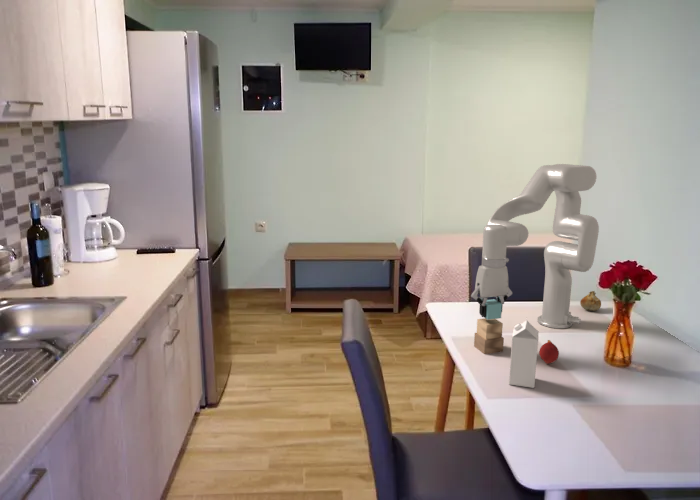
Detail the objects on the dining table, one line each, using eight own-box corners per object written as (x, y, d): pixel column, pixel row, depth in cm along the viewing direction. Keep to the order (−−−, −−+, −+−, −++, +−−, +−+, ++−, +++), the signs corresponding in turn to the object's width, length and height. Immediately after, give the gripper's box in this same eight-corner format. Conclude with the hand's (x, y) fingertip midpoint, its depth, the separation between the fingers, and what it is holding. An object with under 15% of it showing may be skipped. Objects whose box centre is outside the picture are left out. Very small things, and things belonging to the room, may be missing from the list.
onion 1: (558, 362, 180) (560, 338, 178) (556, 369, 175) (558, 345, 173) (539, 358, 182) (541, 335, 180) (537, 365, 177) (539, 342, 175)
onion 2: (575, 307, 232) (577, 289, 230) (594, 307, 232) (596, 288, 231) (585, 313, 224) (587, 294, 222) (604, 313, 225) (606, 294, 223)
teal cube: (493, 313, 190) (494, 299, 189) (501, 318, 186) (501, 303, 185) (480, 314, 189) (480, 300, 188) (487, 319, 184) (488, 305, 183)
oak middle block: (492, 331, 193) (493, 317, 191) (501, 337, 187) (502, 323, 186) (476, 333, 191) (477, 319, 190) (485, 339, 185) (486, 325, 184)
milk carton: (534, 378, 168) (539, 318, 164) (534, 388, 162) (539, 326, 157) (510, 374, 171) (514, 315, 166) (508, 385, 164) (512, 323, 160)
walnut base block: (492, 344, 194) (493, 330, 193) (502, 352, 188) (503, 338, 187) (474, 346, 192) (474, 332, 191) (484, 354, 186) (484, 340, 185)
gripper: (510, 258, 189) (507, 309, 193) (464, 261, 185) (462, 314, 189) (523, 263, 182) (519, 316, 186) (475, 267, 178) (472, 321, 182)
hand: (490, 314), depth 187 cm, fingers closed on teal cube, 4 cm apart
